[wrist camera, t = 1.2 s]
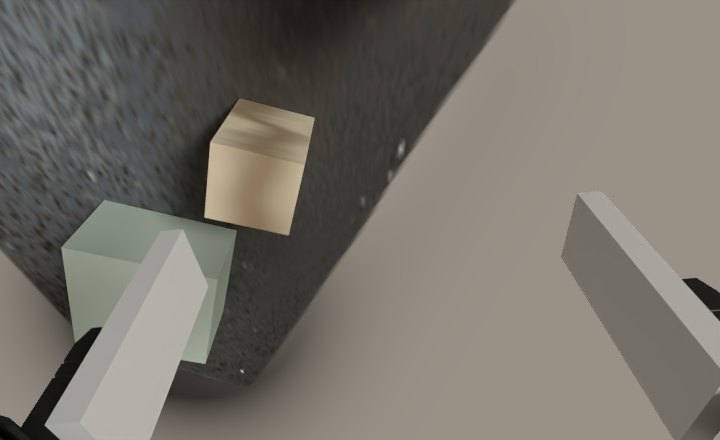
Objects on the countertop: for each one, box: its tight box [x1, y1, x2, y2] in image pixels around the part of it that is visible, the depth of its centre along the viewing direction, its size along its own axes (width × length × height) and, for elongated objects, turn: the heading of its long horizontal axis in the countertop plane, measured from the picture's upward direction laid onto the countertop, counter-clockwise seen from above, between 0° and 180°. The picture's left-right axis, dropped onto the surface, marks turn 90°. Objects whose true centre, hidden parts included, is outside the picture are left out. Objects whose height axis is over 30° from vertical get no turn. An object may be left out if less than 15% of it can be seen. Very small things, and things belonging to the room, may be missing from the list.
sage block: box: [61, 200, 237, 364], centre depth 40 cm, size 12×12×7 cm
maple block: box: [204, 98, 315, 235], centre depth 31 cm, size 6×6×8 cm
